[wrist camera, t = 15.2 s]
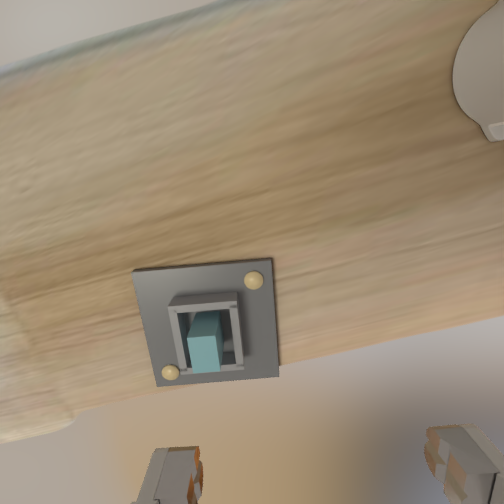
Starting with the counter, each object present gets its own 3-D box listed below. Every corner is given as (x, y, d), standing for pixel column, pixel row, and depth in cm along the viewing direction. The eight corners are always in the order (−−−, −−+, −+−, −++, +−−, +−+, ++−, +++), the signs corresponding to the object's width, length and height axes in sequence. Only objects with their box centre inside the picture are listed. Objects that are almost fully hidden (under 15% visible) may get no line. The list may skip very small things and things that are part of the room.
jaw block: (220, 310, 45) (215, 335, 38) (224, 342, 46) (220, 371, 40) (195, 312, 45) (186, 338, 38) (201, 344, 46) (193, 373, 40)
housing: (270, 258, 44) (273, 267, 39) (278, 371, 50) (281, 390, 46) (134, 269, 44) (122, 280, 40) (159, 381, 50) (151, 401, 46)
